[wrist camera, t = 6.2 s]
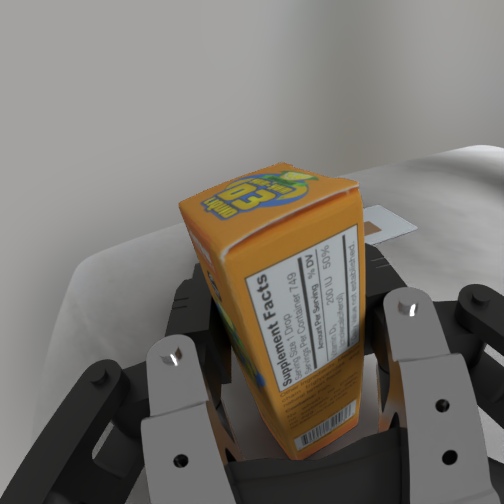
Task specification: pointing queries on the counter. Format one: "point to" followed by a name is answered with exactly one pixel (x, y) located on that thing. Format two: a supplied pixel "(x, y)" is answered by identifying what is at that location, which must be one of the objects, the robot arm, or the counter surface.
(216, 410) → the robot arm
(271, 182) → the supplement box
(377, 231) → the page
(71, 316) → the counter surface
